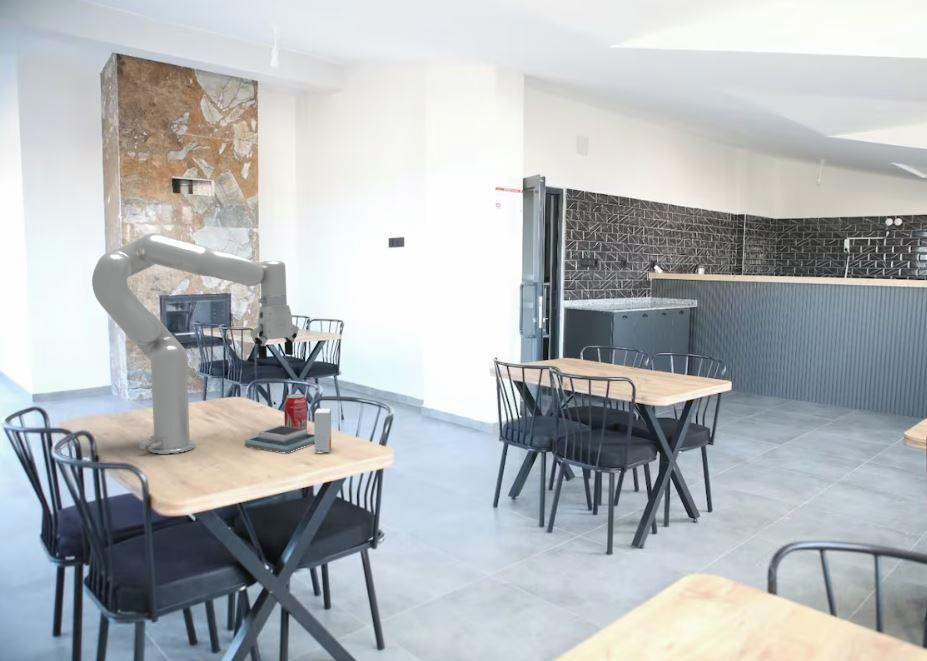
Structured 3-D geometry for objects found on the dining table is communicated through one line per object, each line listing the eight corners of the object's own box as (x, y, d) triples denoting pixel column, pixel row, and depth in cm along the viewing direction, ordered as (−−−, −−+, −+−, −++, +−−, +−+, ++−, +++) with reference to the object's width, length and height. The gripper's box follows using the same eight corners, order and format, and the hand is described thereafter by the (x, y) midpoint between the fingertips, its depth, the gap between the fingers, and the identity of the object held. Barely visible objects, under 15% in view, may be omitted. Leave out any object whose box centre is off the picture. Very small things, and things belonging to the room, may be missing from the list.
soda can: (287, 429, 220) (287, 393, 219) (309, 429, 220) (308, 393, 219) (282, 435, 213) (281, 397, 212) (304, 435, 213) (304, 398, 212)
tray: (287, 453, 192) (286, 439, 192) (244, 446, 199) (244, 432, 199) (320, 441, 206) (320, 428, 205) (279, 435, 213) (279, 422, 212)
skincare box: (329, 453, 193) (328, 412, 192) (314, 453, 193) (313, 412, 192) (331, 447, 199) (331, 408, 198) (317, 448, 199) (316, 408, 198)
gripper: (257, 303, 197) (259, 361, 199) (304, 300, 211) (306, 354, 212) (242, 302, 201) (244, 359, 203) (289, 299, 215) (291, 352, 217)
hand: (276, 356), depth 208 cm, fingers open, 9 cm apart
